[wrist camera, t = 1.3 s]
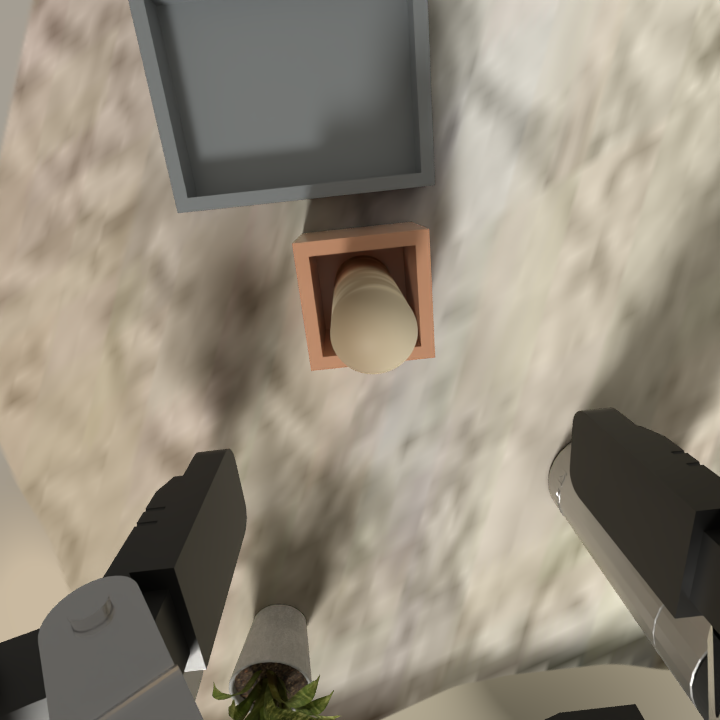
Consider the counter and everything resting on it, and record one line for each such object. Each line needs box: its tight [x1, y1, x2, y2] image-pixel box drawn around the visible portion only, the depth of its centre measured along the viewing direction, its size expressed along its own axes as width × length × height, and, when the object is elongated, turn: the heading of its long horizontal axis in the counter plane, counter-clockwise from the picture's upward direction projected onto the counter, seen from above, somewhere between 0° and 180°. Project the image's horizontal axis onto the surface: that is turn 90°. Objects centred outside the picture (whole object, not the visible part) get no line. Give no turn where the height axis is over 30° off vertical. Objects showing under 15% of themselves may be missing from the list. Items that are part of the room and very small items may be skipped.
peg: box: [330, 255, 418, 374], centre depth 26 cm, size 4×4×12 cm
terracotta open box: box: [292, 222, 435, 371], centre depth 29 cm, size 8×8×7 cm
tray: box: [128, 0, 435, 213], centre depth 27 cm, size 16×12×3 cm
